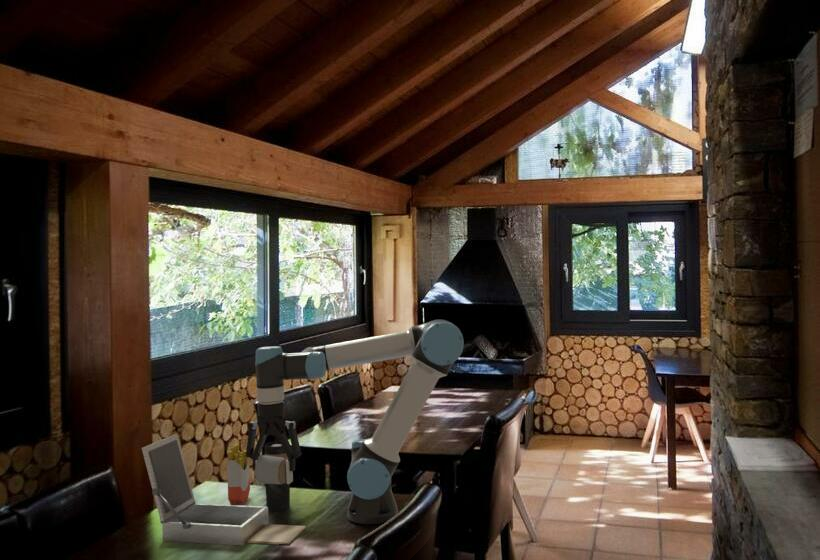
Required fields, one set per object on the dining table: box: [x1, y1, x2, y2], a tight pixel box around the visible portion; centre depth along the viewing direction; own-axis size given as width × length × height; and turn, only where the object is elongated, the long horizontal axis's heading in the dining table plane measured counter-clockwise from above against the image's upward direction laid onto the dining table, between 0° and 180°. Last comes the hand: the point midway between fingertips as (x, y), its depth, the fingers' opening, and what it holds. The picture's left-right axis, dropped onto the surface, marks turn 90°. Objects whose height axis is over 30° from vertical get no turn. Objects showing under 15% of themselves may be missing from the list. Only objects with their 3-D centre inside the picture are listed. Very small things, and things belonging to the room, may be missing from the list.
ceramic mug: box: [254, 454, 287, 484], centre depth 196 cm, size 11×8×8 cm
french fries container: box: [226, 443, 251, 505], centre depth 226 cm, size 5×11×18 cm, turn 178°
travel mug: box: [264, 441, 291, 512], centre depth 219 cm, size 8×8×20 cm
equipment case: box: [141, 433, 269, 546], centre depth 198 cm, size 30×18×26 cm, turn 78°
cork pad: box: [247, 523, 307, 545], centre depth 194 cm, size 12×13×1 cm
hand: (274, 482), depth 195 cm, fingers closed on ceramic mug, 8 cm apart
